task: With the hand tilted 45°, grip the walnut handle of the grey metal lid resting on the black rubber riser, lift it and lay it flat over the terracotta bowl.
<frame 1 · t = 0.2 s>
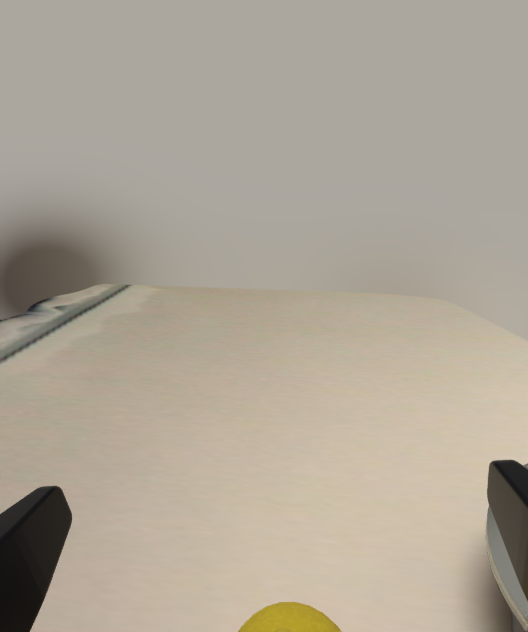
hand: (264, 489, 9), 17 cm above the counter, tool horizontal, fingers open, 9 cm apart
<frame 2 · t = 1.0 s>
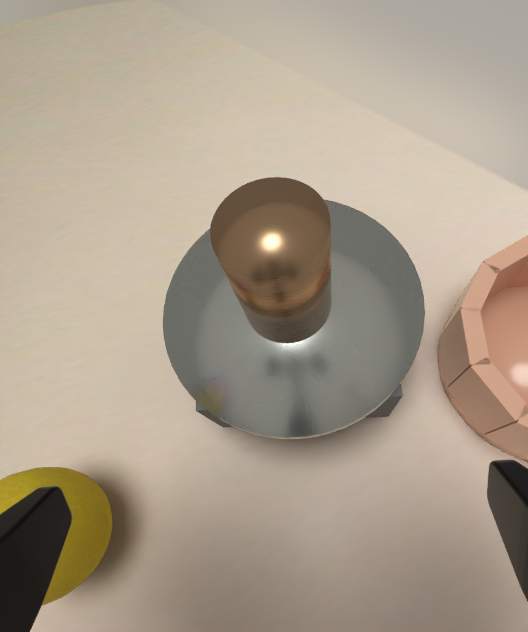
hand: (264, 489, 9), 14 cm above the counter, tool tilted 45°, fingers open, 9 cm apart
lid: (289, 309, 20), point 5 cm above the counter, touching riser
lemon: (91, 526, 22), on the counter
riser: (297, 344, 24), on the counter
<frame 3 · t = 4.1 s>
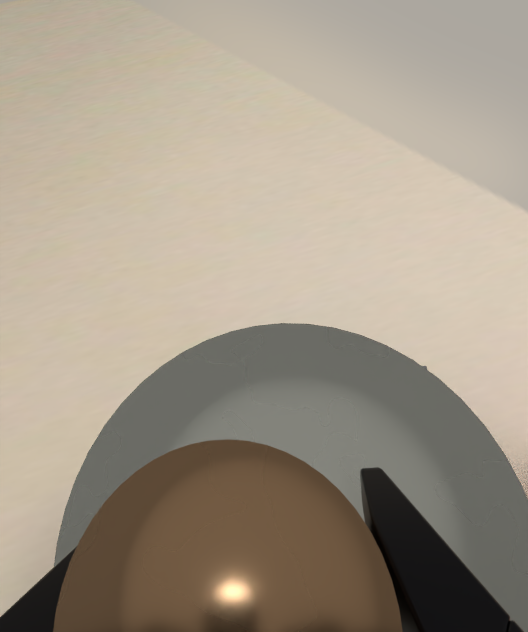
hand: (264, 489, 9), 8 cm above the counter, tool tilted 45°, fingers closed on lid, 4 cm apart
lid: (284, 546, 11), point 5 cm above the counter, touching gripper, riser
when the fingers open (9 cm above the counter, at t = 8.4 s): lid stays where it is, resting on bowl.
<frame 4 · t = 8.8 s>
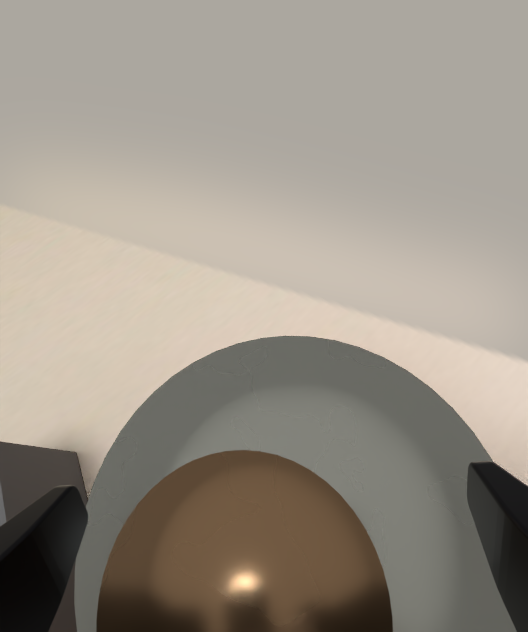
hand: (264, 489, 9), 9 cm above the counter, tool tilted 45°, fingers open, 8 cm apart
lid: (288, 544, 12), point 5 cm above the counter, touching bowl
riser: (0, 605, 17), on the counter
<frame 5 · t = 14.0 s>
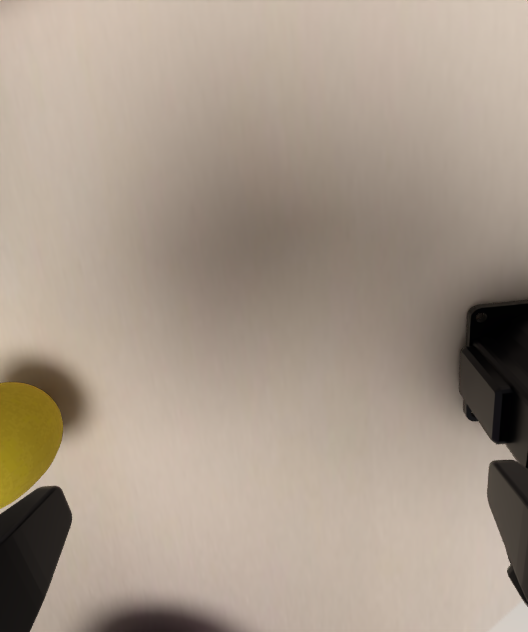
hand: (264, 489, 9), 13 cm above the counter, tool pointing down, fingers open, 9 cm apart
lemon: (44, 396, 24), on the counter
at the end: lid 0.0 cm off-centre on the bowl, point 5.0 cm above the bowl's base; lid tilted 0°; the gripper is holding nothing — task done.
